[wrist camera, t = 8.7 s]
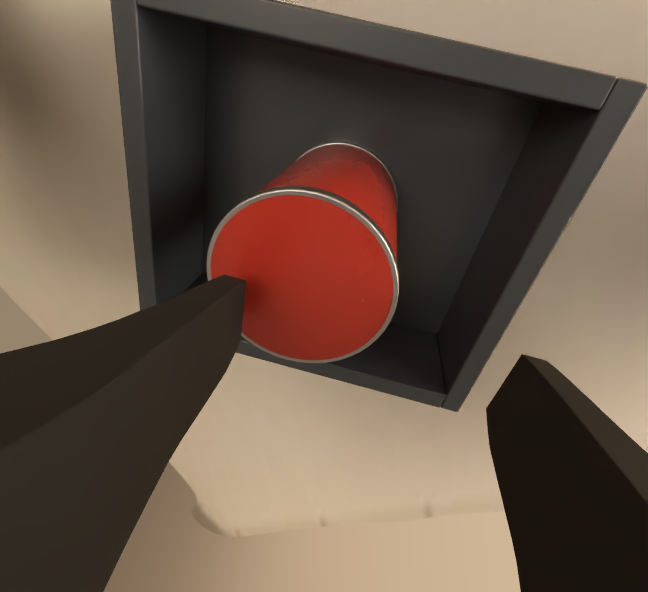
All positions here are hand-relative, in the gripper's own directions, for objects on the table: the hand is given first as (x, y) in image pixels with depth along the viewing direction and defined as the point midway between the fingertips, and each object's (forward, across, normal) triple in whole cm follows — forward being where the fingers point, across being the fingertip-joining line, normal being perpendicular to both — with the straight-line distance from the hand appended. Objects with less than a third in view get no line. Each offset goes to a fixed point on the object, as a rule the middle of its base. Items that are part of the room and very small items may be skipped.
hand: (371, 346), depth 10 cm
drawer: (+9, +2, -1) cm, 10 cm away
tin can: (+9, +2, -1) cm, 9 cm away
